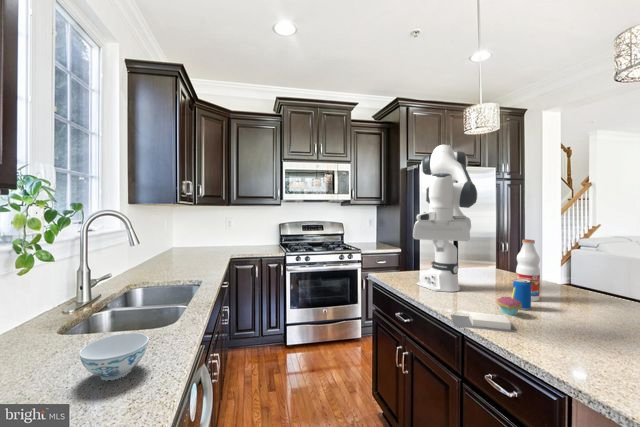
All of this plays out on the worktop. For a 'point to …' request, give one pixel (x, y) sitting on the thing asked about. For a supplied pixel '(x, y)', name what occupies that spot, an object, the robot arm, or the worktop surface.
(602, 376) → the worktop surface
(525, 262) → the fruit juice
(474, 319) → the tile
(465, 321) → the mat
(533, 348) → the worktop surface
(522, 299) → the beverage can
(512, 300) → the cupcake
